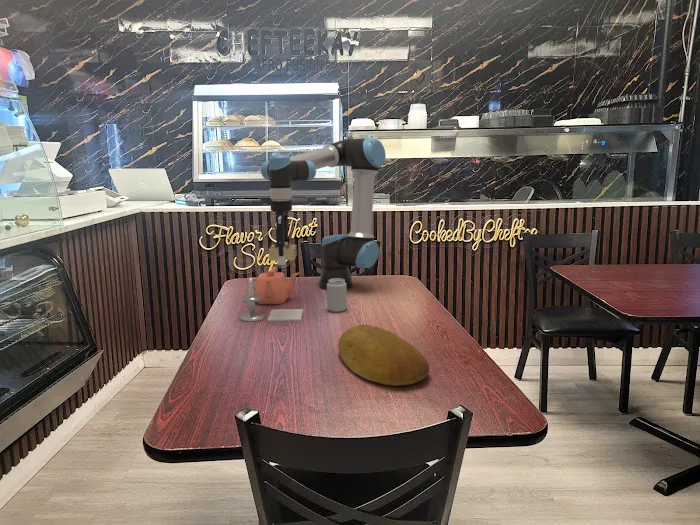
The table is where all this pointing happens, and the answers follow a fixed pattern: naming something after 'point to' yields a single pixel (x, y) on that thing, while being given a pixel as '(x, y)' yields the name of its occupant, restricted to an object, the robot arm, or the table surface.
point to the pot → (273, 287)
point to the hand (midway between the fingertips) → (283, 261)
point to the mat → (285, 315)
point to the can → (336, 295)
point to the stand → (251, 305)
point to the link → (289, 252)
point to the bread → (381, 356)
